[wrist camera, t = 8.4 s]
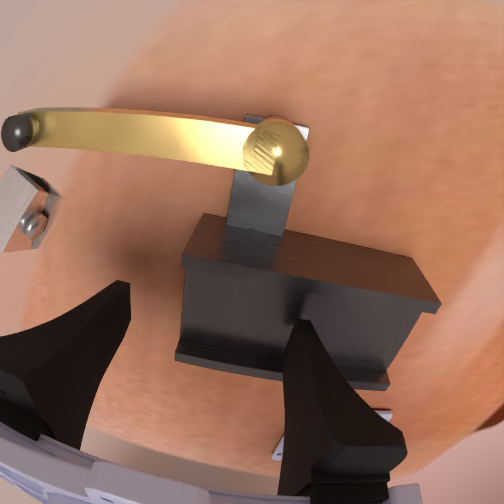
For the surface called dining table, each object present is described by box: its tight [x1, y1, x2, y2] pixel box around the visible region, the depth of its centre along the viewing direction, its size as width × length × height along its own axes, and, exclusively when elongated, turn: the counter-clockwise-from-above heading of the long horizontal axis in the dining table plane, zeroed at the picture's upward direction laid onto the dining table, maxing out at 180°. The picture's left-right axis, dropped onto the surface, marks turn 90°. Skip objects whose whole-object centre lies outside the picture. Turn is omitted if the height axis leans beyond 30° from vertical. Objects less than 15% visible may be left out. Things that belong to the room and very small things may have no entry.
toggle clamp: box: [175, 114, 441, 391], centre depth 14 cm, size 11×11×4 cm
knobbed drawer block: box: [0, 165, 61, 252], centre depth 16 cm, size 4×5×3 cm
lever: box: [1, 108, 309, 186], centre depth 9 cm, size 10×2×2 cm, turn 80°
